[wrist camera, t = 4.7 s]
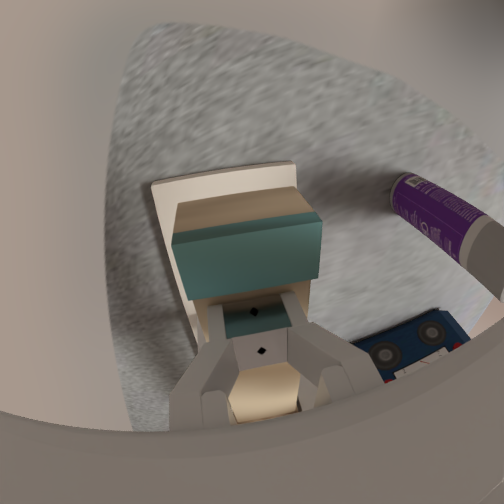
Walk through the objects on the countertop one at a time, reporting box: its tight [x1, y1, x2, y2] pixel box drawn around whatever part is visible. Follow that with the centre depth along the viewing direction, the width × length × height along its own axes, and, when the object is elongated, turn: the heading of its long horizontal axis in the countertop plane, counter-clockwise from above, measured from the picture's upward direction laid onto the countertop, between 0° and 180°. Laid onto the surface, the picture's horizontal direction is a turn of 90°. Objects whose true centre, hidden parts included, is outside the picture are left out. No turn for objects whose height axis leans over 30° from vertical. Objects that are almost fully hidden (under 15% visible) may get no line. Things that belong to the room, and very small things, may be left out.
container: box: [390, 173, 504, 303], centre depth 18 cm, size 5×5×15 cm
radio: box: [352, 310, 471, 384], centre depth 29 cm, size 21×9×20 cm, turn 100°
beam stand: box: [151, 161, 318, 412], centre depth 22 cm, size 28×11×15 cm, turn 5°
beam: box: [171, 186, 323, 425], centre depth 17 cm, size 32×4×3 cm, turn 5°
